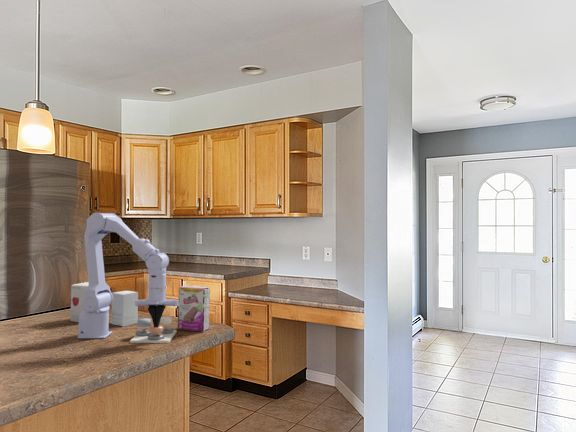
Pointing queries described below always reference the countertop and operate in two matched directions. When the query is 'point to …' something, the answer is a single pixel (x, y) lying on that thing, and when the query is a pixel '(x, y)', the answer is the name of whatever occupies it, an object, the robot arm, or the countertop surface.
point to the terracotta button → (156, 329)
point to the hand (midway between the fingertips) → (156, 326)
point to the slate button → (143, 322)
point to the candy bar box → (193, 308)
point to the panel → (153, 336)
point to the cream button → (165, 320)
